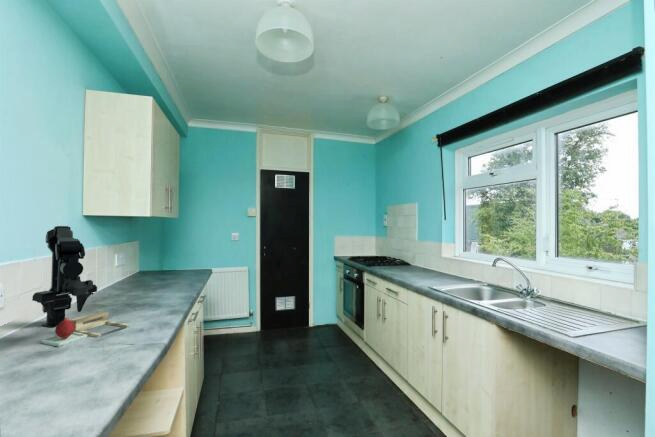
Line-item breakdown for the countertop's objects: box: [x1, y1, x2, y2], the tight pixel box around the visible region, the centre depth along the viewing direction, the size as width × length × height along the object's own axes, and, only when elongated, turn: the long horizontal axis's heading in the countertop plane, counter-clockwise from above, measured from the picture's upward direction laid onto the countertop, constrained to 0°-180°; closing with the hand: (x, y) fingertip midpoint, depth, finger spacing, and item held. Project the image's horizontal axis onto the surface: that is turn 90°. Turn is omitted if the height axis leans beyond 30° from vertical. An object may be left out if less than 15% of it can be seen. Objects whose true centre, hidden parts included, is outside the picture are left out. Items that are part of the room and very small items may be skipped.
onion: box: [54, 316, 76, 339], centre depth 115 cm, size 6×6×8 cm
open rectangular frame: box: [70, 310, 130, 338], centre depth 128 cm, size 15×13×5 cm
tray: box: [41, 332, 88, 348], centre depth 115 cm, size 10×10×1 cm
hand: (66, 315), depth 115 cm, fingers open, 9 cm apart
